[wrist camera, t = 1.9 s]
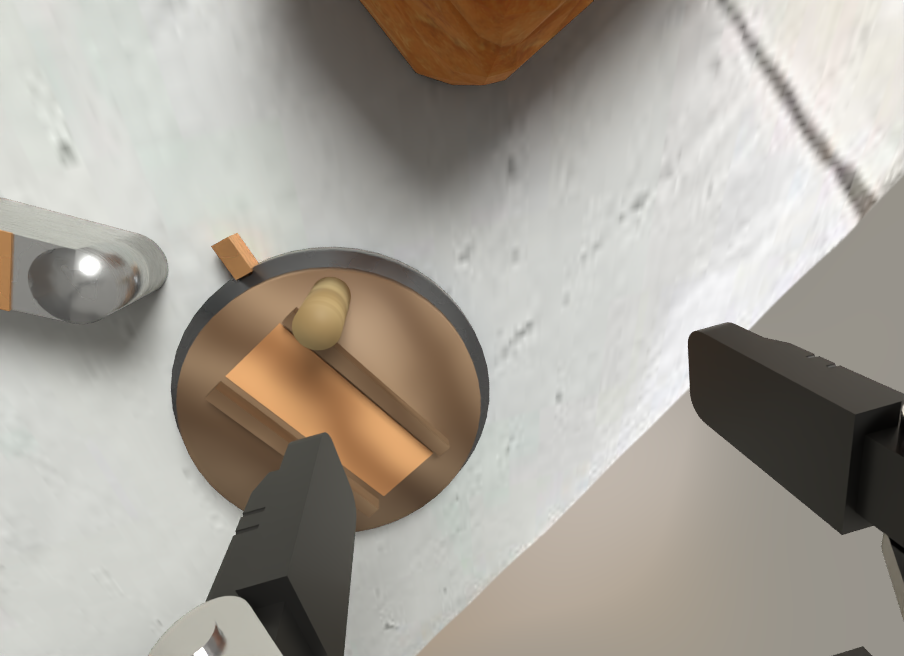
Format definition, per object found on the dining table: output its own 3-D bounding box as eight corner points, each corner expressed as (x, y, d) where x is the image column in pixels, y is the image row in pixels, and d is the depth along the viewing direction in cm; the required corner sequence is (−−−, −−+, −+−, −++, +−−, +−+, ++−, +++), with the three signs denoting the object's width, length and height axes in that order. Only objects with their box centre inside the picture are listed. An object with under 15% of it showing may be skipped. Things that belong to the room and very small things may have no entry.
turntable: (344, 560, 37) (334, 652, 30) (120, 411, 30) (39, 485, 23) (530, 400, 34) (567, 461, 27) (330, 199, 27) (311, 210, 20)
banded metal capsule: (164, 301, 30) (111, 333, 24) (-34, 254, 27) (-144, 277, 22) (172, 241, 29) (118, 259, 23) (-34, 187, 26) (-151, 192, 20)
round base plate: (437, 531, 39) (439, 547, 38) (162, 490, 34) (150, 506, 33) (525, 295, 33) (532, 302, 31) (205, 203, 28) (193, 206, 26)
